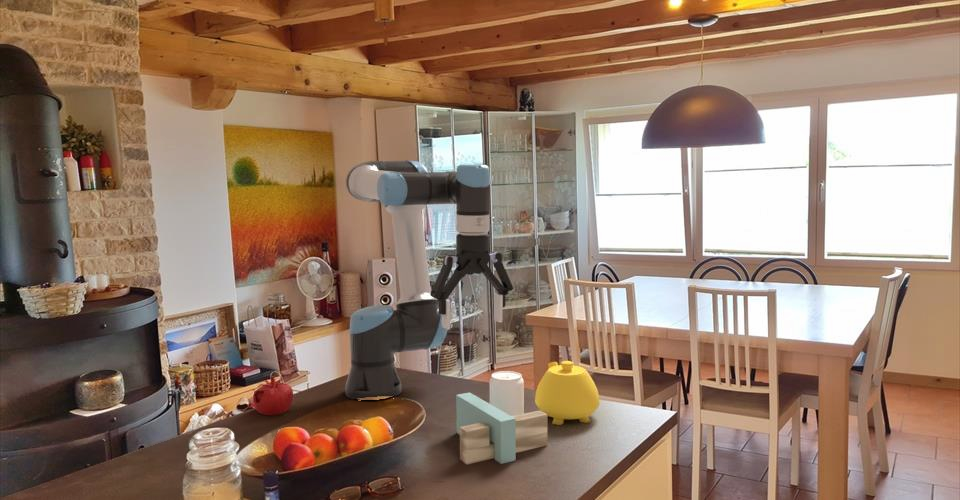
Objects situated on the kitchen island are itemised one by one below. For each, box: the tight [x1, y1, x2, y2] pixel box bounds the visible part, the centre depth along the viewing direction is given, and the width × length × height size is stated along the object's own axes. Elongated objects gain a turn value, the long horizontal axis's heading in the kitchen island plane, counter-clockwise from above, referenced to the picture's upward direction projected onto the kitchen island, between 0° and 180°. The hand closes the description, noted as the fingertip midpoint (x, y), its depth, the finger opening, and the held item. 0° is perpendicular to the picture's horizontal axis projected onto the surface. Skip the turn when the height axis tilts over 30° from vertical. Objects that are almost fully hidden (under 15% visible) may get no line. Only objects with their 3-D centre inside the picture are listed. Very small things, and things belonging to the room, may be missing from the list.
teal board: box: [455, 392, 517, 465], centre depth 152 cm, size 20×4×9 cm, turn 29°
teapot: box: [534, 360, 600, 426], centre depth 171 cm, size 20×16×14 cm
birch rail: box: [459, 409, 548, 465], centre depth 148 cm, size 3×20×7 cm, turn 119°
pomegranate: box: [252, 375, 295, 416], centre depth 176 cm, size 10×10×9 cm
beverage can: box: [488, 370, 525, 416], centre depth 164 cm, size 8×8×12 cm
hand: (472, 324), depth 160 cm, fingers open, 13 cm apart
